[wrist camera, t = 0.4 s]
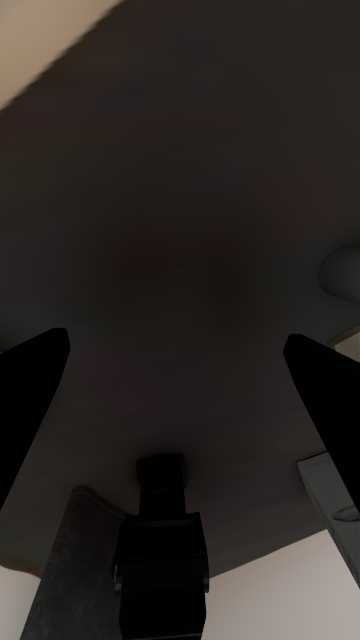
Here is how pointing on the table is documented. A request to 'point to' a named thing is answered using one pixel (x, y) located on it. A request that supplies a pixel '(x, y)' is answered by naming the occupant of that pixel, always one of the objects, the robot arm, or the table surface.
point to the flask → (79, 575)
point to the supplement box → (334, 507)
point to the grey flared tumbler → (342, 274)
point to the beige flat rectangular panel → (348, 343)
